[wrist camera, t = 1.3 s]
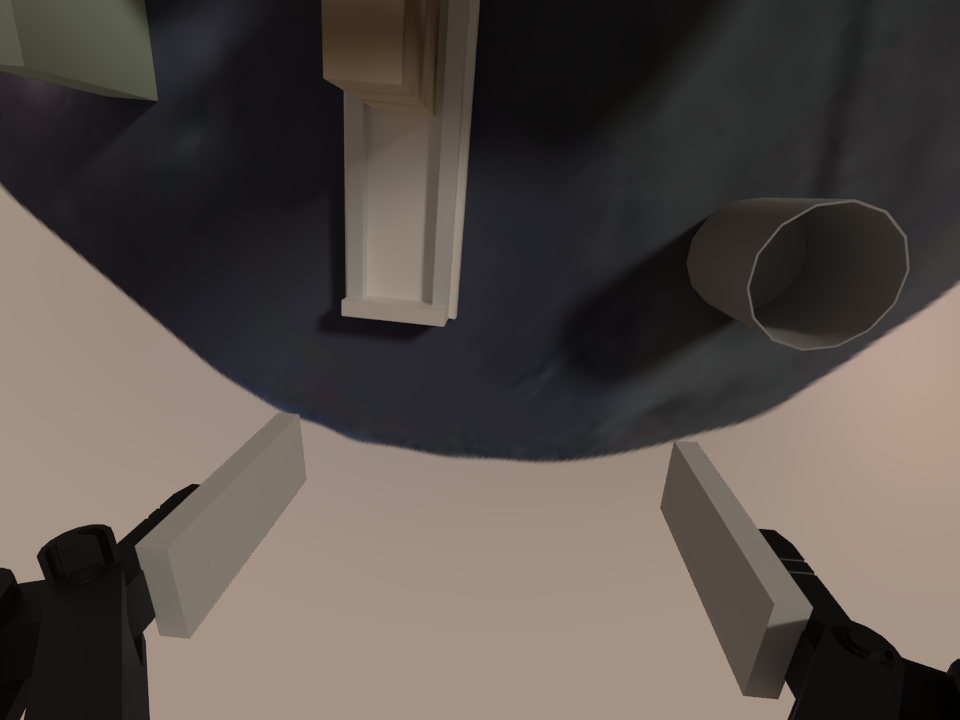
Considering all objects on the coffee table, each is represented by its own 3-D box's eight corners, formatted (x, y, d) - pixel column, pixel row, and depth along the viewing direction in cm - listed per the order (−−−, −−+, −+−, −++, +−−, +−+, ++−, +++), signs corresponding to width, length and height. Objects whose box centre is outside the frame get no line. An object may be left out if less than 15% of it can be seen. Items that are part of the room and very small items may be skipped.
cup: (713, 329, 37) (780, 374, 28) (667, 240, 35) (722, 257, 26) (820, 272, 35) (930, 300, 26) (777, 174, 33) (880, 167, 24)
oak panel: (380, -27, 30) (318, -128, 21) (441, -23, 30) (407, -122, 20) (378, 111, 33) (323, 78, 23) (434, 116, 33) (401, 84, 23)
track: (347, -51, 31) (235, -214, 18) (483, -41, 30) (460, -200, 18) (350, 304, 39) (273, 355, 27) (456, 316, 38) (428, 373, 26)
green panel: (84, -35, 32) (-94, -130, 23) (140, -30, 32) (-17, -124, 22) (106, 96, 35) (-46, 60, 25) (158, 101, 35) (24, 66, 25)
